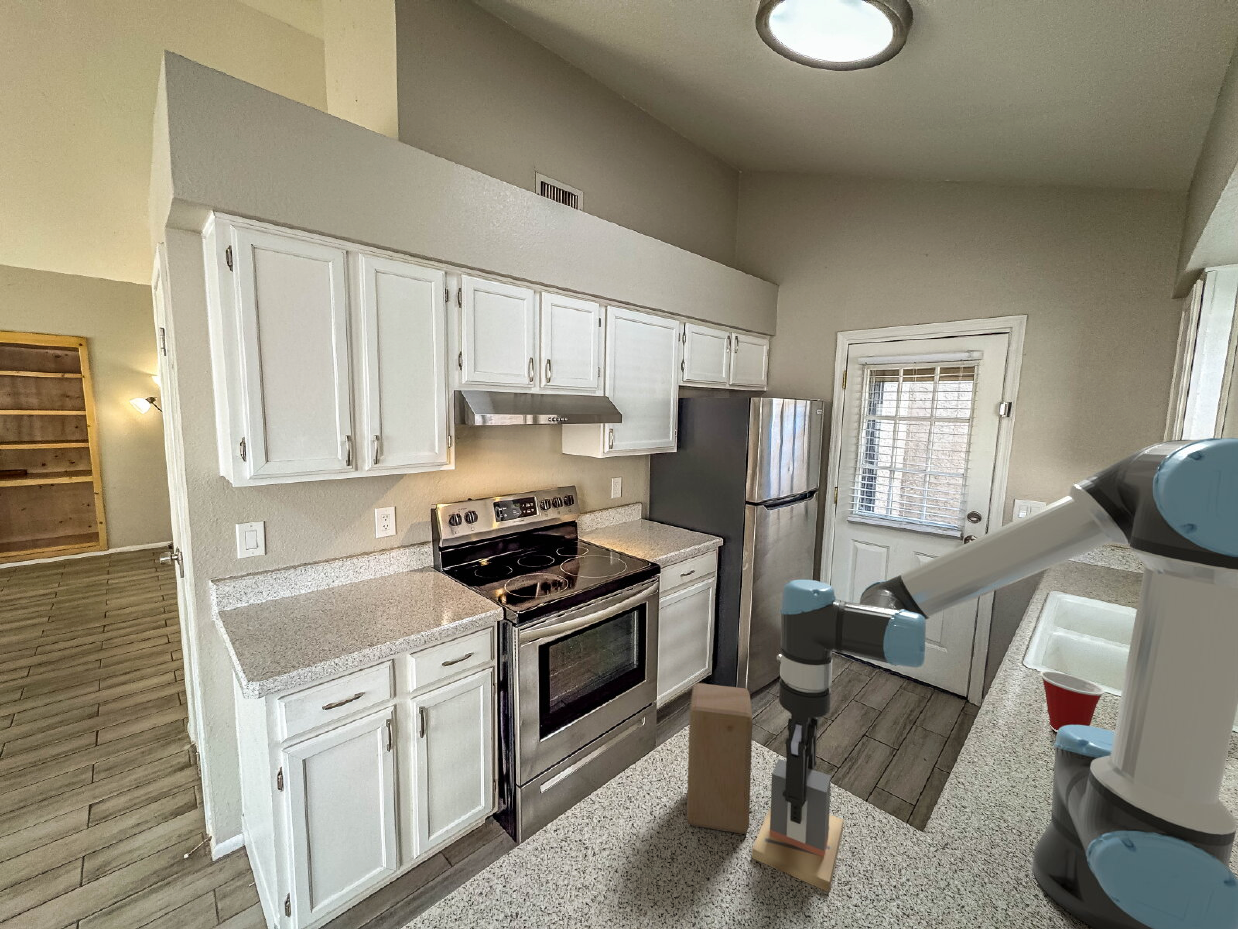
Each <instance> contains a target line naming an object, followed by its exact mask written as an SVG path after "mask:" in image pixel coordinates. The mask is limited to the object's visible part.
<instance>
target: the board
mask: <svg viewBox="0 0 1238 929" xmlns="http://www.w3.org/2000/svg"><path fill="white" fill-rule="evenodd" d="M770 814H771V805H770V807H769V809H768V811H767V814H766V815H765V818H764V820H763V822H762V825H761V826H760V830H759V832H758V835H757V837H756V839H755V841H754V844H753V847H752V848H751V859H754V860H756V861H758V862H759V863H762V864H764V865H766V866H769V867H771V868H774V869H775V870H778V871H781V872H783V873H785V874H786V875H789V876H792V877H795V878H797V879H799V880H801V881H803V882H806V883H807V884H809V885H812V886H814V887H816V888H818V889H821V890H823V891H826V892H828V893H830V891H831V886H832V881H833V876H834V872H835V868H836V862H837V858H838V852H839V850H840V845H841V839H842V835H843V830H844V819H843V818H839V817H838V816H835V815H832V814H829V836H828V842H827V846H826V850H825V855H824V857H821V856H819V855H816V854H814V853H811V852H809V851H807V850H804V849H802V848H799V847H797V846H794V845H792V844H789V843H787V842H784V841H782V840H779V839H777V838H774V837H772V836H770Z"/></svg>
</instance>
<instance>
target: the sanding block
mask: <svg viewBox="0 0 1238 929" xmlns="http://www.w3.org/2000/svg"><path fill="white" fill-rule="evenodd" d="M831 782H832V775H830V774H827V773H824V772H820V771H818V770H815V769H814V770H812V769H809V768H808V773H807V787H806V799H807V827H806V842H805V843H802V842H800V841H797V840H795V839H792V838H790V837H787V812H788V802H787V801H785V797H784V796H783V795H782V794H783V791H784V790H785V785H786V760H784V759H780V758H778V759H777V761H776V764H775V766H774V769H773V771H772V773H771V790H770V792H771V794H770V806H771V814H770V836H772V837H774V838H777V839H779V840H782V841H784V842H787V843H789V844H792V845H794V846H797V847H799V848H802V849H804V850H807V851H809V852H811V853H814V854H816V855H819V856H821V857H824V855H825V850H826V846H827V842H828V836H829V815H830V810H831V808H830V807H831V805H830V804H831V786H832V785H831Z"/></svg>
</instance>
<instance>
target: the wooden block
mask: <svg viewBox="0 0 1238 929" xmlns="http://www.w3.org/2000/svg"><path fill="white" fill-rule="evenodd" d="M692 686H693V687H692V689H691V697H690V708H689V718H688V719H689V720H688V723H689V725H688V726H689V728H688V761H687V762H688V763H687V764H688V765H687V767H688V768H687V796H686V797H687V798H686V799H687V800H686V802H687V804H686V818H687V819H686V820H687V822H688V824H690V825H691V826H694V827H700V828H705V829H712V830H719V831H724V832H731V833H737V834H742V835H743V834H747V832H748V830H749V828H750V809H751V808H750V806H751V804H750V802H751V778H752V775H751V774H752V772H751V770H752V746H753V745H752V744H753V739H752V738H753V713H752V702H751V694H750V692H749V690H748V689H746V688H744V687H743V688H742V687H737V686H736V687H735V686H726V685H717V684H710V683H709V684H707V683H699V682H697V683H694V685H692Z"/></svg>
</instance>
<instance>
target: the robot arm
mask: <svg viewBox="0 0 1238 929" xmlns="http://www.w3.org/2000/svg"><path fill="white" fill-rule="evenodd" d="M1107 544H1117V545H1122V546H1127V545H1129V550H1130V551H1131V552H1132V553H1133V555H1135V556H1136V557H1137V558H1138V559H1139V560H1140V562H1142V564H1143V566H1144V567H1143V574H1142V579H1141V583H1140V590H1139V596H1138V601H1137V605H1136V606H1137V607H1136V611H1135V617H1134V623H1133V628H1132V634H1131V639H1130V646H1129V650H1128V657H1127V661H1126V666H1125V667H1126V668H1125V674H1124V678H1123V684H1122V688H1121V689H1122V690H1121V696H1120V700H1119V706H1118V712H1117V716H1116V723H1115V726H1114V727H1115V728H1114V731H1113V730H1109V729H1106V728H1105V729H1104V728H1102V727H1095V726H1091V725H1089V726H1085V725H1066V726H1063V727H1061V728H1060V729H1059V730H1058V732H1057V733H1056V737H1055V738H1056V739H1055V742H1054V743H1053V747H1054V765H1053V779H1052V780H1053V782H1052V783H1053V784H1052V785H1053V786H1052V800H1051V817H1050V818H1051V819H1050V821H1049V824H1047V825H1048V826H1046V829H1045V830H1044V831H1043V833H1042V835H1041V837H1040V839H1039V840H1038V842H1037V843H1036V845H1035V847H1034V850H1033V857H1032V871H1033V875H1034V876H1035V879H1036V881H1037V882H1038V885H1039V886H1040V887H1041V888H1042V889H1043V891H1045V893H1046V894H1047V895H1048V896H1049V897H1050V898H1051V899H1052V900H1053V901H1054V902H1055V903H1056V904H1058V905H1059V906H1060V907H1061V908H1062V909H1064V910H1065V911H1067V913H1069V914H1071V915H1072V916H1073V917H1074V918H1076V919H1077V920H1079V921H1081V922H1082V923H1084V924H1086V925H1087V926H1089V927H1091V928H1093V929H1238V878H1237V875H1235V873H1234V872H1233V871H1232V870H1231V868H1230V862H1231V861H1230V860H1231V856H1232V851H1233V847H1234V843H1235V836H1236V832H1237V828H1238V826H1237V825H1238V822H1237V820H1236V817H1235V816H1234V815H1233V814H1232V813H1231V811H1230V810H1229V809H1228V808H1227V806H1225V804H1224V803H1223V802H1221V800H1220V792H1221V788H1222V782H1223V778H1224V772H1225V768H1226V763H1227V758H1228V753H1229V749H1230V743H1231V738H1232V734H1233V728H1234V724H1235V719H1236V714H1237V708H1238V437H1237V438H1236V437H1227V438H1225V437H1219V438H1218V437H1217V438H1216V437H1215V438H1214V437H1210V438H1209V437H1208V438H1204V439H1202V438H1200V439H1176V440H1175V439H1172V440H1171V439H1170V440H1166V441H1162V442H1157V443H1155V444H1151V445H1149V446H1146V447H1143V448H1140V449H1138V450H1137V451H1134V452H1133V453H1131V454H1129V455H1127V456H1126V457H1124V458H1122V459H1120V460H1117V461H1116V462H1114V463H1112V464H1110V465H1109V466H1107V467H1105V468H1103V469H1101V470H1100V471H1097V472H1095V473H1094V474H1092V475H1090V476H1088V477H1086V478H1084V479H1082V480H1081V481H1077V482H1076V483H1074V484H1072V485H1071V486H1070V490H1069V493H1068V495H1066V496H1064V497H1062V498H1061V499H1058V500H1055V501H1054V502H1052V503H1049V504H1048V505H1046V506H1043V507H1041V508H1039V509H1037V510H1034V511H1032V512H1030V513H1029V514H1026V515H1025V516H1021V517H1020V518H1018V519H1015V520H1013V521H1012V522H1010V523H1007V524H1005V525H1003V526H1001V527H998V528H997V529H996V528H995V530H992V531H990V532H988V533H986V534H984V535H982V536H980V537H977V538H975V539H974V540H971V541H969V542H966V543H965V544H962V545H961V546H958V547H956V548H954V549H952V550H950V551H948V552H946V553H943V554H941V555H939V556H937V557H935V558H933V559H931V560H929V561H927V562H925V563H923V564H920V565H919V566H915V567H914V568H912V569H910V570H907V571H905V572H904V573H903V572H902V573H901V574H900V575H898V576H896V577H895V576H894V577H892V578H891V579H889V580H877V581H875V582H873V583H871V584H869V585H868V586H867V587H865V590H864V591H863V592H862V593H861V596H860V599H859V603H856V602H849V601H845V600H841V599H836V597H837V596H836V594H835V589H834V588H833V586H832V585H830V584H828V583H827V582H822V581H819V580H812V579H794V580H790V581H788V582H787V583H786V584H785V585H784V586H783V589H782V592H783V593H782V603H781V609H780V620H781V621H780V624H781V625H780V654H777V655H776V660H777V661H778V662H780V664H779V665H780V666H779V675H780V678H779V681H778V684H779V686H778V701H779V704H780V706H781V707H782V708H783V709H784V710H786V711H787V712H788V713H790V714H791V718H788V720H787V731H788V737H786V739H785V751H786V753H785V754H786V757H785V761H786V785H785V790H784V791H783V794H782V795H783V796H784V797H785V801H787V802H788V812H787V837H790V838H792V839H795V840H797V841H800V842H802V843H805V842H806V827H807V799H806V787H807V773H808V768H809V769H812V770H815V768H816V767H817V763H818V762H817V748H818V745H817V744H818V743H817V742H818V727H819V724H820V722H819V721H820V720H819V718H824V717H825V716H827V715H828V714H829V713H830V710H831V699H832V698H831V697H832V696H831V695H832V693H831V692H832V689H831V687H830V686H832V682H833V652H834V653H835V652H836V653H839V654H846V655H850V656H854V657H859V658H863V659H868V660H872V661H876V662H880V663H885V664H890V665H891V666H896V667H897V666H900V667H901V666H902V667H908V668H916V669H918V668H920V667H922V666H923V665H924V663H925V658H926V656H925V655H926V639H927V638H926V637H927V636H926V635H927V634H926V632H927V630H926V628H927V625H926V623H927V622H926V620H928V619H930V618H931V617H932V618H933V617H935V616H937V615H939V614H942V613H945V612H947V611H950V610H951V609H953V608H956V607H959V606H961V605H964V604H966V603H968V602H970V601H973V600H976V599H978V598H980V597H982V596H986V595H987V594H989V593H992V592H994V591H996V590H1000V589H1002V588H1004V587H1007V586H1009V585H1011V584H1014V583H1016V582H1019V581H1021V580H1024V579H1026V578H1028V577H1030V576H1033V575H1036V574H1037V573H1040V572H1043V571H1045V570H1047V569H1050V568H1052V567H1054V566H1056V565H1057V566H1058V565H1059V564H1062V563H1064V562H1067V561H1069V560H1072V559H1074V558H1076V557H1078V556H1081V555H1083V554H1086V553H1088V552H1090V551H1094V550H1095V549H1098V548H1100V547H1102V546H1103V547H1104V546H1105V545H1107Z"/></svg>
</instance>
